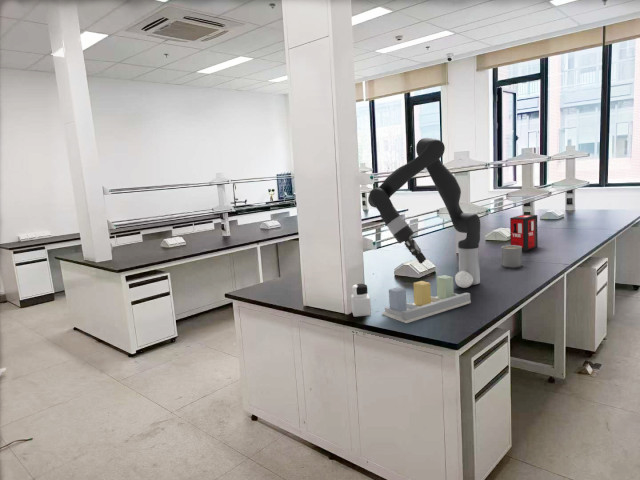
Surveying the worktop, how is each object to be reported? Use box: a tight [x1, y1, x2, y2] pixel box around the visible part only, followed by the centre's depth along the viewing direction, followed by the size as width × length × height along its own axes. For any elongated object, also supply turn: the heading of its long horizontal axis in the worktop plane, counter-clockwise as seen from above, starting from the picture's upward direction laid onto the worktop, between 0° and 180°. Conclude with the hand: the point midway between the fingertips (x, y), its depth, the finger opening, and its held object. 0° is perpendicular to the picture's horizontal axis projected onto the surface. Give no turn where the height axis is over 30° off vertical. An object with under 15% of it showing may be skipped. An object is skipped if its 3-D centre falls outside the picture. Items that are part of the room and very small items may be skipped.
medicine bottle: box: [350, 283, 372, 318], centre depth 184 cm, size 7×7×12 cm
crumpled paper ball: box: [454, 271, 473, 289], centre depth 209 cm, size 8×8×8 cm
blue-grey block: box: [388, 286, 408, 312], centre depth 179 cm, size 5×4×9 cm
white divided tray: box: [381, 292, 472, 324], centre depth 184 cm, size 14×35×4 cm, turn 121°
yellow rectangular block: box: [412, 280, 432, 306], centre depth 185 cm, size 5×4×9 cm
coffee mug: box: [501, 244, 523, 268], centre depth 243 cm, size 13×10×10 cm
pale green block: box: [436, 274, 455, 299], centre depth 191 cm, size 5×4×9 cm
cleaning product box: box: [509, 214, 538, 252], centre depth 281 cm, size 16×9×20 cm, turn 130°
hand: (423, 261), depth 185 cm, fingers open, 8 cm apart
